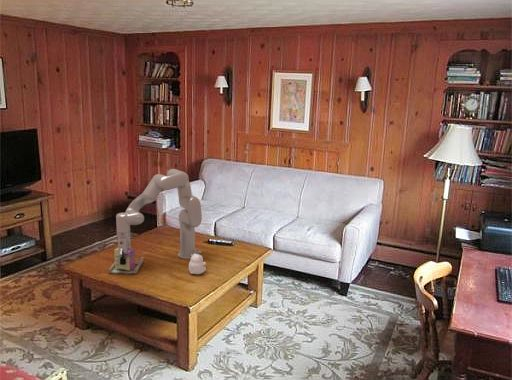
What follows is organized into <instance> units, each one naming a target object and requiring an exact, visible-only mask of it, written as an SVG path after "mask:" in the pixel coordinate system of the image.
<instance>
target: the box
mask: <svg viewBox="0 0 512 380" xmlns="http://www.w3.org/2000/svg"><path fill="white" fill-rule="evenodd" d="M135 250H136V249H134V248H131V249H129V250H128V252H127V254H125V258H126V264H125V265H120V255H119V250H118V247H116V248H115V249H113V251H114V262H115V268H119V269H124V270H129V271H130V270H132V269H133V268H135V260H136V256H135V255H136V254H135ZM123 253H124V252H123ZM122 255H123V256H124V254H122Z"/></svg>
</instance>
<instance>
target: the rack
mask: <svg viewBox="0 0 512 380" xmlns="http://www.w3.org/2000/svg"><path fill="white" fill-rule="evenodd" d="M144 262H145V257H144V256H142V257H141V258H140V259H135V268H133V269H132V270H130V271H129V270H124V269H119V268H115V261H114V262H113V263H112V265H111V266H110V267H109V268H108V275H123V276H125V275H127V276H128V275H132V276H133V275H135V276H136V275H137V274H138V273H139V271H140V269H141V267H142V266H143V264H144Z"/></svg>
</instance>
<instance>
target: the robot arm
mask: <svg viewBox="0 0 512 380" xmlns="http://www.w3.org/2000/svg"><path fill="white" fill-rule="evenodd" d="M174 189H176V190H177V195H178V203H179V206H180V207H181V208H183V209H181V210H180V211H179V214H178V222H179V223H178V224H179V248H180V249H179V251H178V253H177V257H179V258H180V259H184V260H185V259H186V260H187V259H188V260H189V259H190V260H191V257H192V256H191V254H192V255H193V254H199V255H201V254H202V250H200V249H196V247H195V246H196V245H195V241H196V240H195V239H196V237H195V234H196V233H195V232H196V228H198V227H199V226H200V225H201V224H202V221H203V217H202V207H201V206H202V205H201V201H200V199H199V198H198V197H197V196H196V195H195V196H194V195H193V192H192V187H191V182H190V181H189V175H188V173H186V172H185V171H182V170H179V169H176V168H170V169H168V171H167V173H166V175H164V174H162V173H161V174H160V173H157V174H155V175H154V176H153V177H152V178H151V180H150V181H149V183H148V184H147V186H146V188H145V189H144V190H143V192H142V193H141V194H140V195H138V196H137V197H135V198H134V199H133V200H132V201H131V202H130V204H129V205H128V207H127V208H126V210H125V212H119V213H116V215H115V219H116V220H115V222H116V224H115V225H116V237H117V238H118V243H117V244H118V245H117V248H118V250H119V255H120V265H125V264H126V258H125V254H127V252H128V250H129V249H132V246H131V226H137V225H141V224H142V223H143V222H144V221H145V216H144V215H143V213H142V212H140V210H141V209H142V208H143V207H144V206H145V205H148V204H151V203H153V202H155V201H156V199H157V198H158V197H159V195H160V194H161V191H170V190H174ZM123 252H124V253H123ZM122 254H124V256H123V255H122Z"/></svg>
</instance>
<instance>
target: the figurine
mask: <svg viewBox="0 0 512 380" xmlns="http://www.w3.org/2000/svg"><path fill="white" fill-rule="evenodd" d="M191 256H192V257H191V258H190V261H189V263H188V270H189V272H190V275H193V274H194V275H201V274H202V273H203V274H204V273H205V271H206V269H207V267H206V264H207V262H206V261H204V258H203V255H201V254H198V253H197V254H193V255H192V254H191Z"/></svg>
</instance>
